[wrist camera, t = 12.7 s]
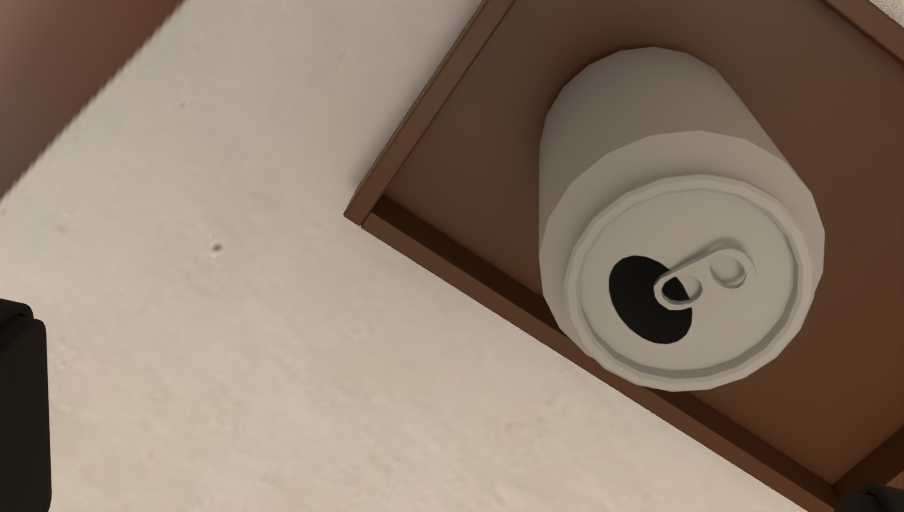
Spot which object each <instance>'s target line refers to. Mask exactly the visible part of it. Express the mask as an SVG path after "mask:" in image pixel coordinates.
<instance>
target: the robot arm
mask: <svg viewBox="0 0 904 512" xmlns="http://www.w3.org/2000/svg"><path fill="white" fill-rule="evenodd" d="M51 496H52V487H51V458H50V429H49V401H48V372H47V343H46V328H45V325H44V323H43V322H42V321H41V320H38V319H34V317H33V312H32V310H31V308H30V306H28V305H26V304H24V303H19V302H14V301H10V300H5V299H0V512H48V511H49V508H50V503H51ZM834 512H904V489H900V488H895V487H891V486H886V485H881V484H877V483H872V482H871V483H865V484H863V485H862V486H860V487H859V489H858V490H857V491H856V492H853V491H850V492H846V493H845V494H844V495H843V496H842V497H841V499H840V500H839V502H838V504H837V506H836V508H835V510H834Z"/></svg>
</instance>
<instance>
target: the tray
mask: <svg viewBox="0 0 904 512" xmlns="http://www.w3.org/2000/svg"><path fill="white" fill-rule="evenodd" d="M648 47H659V48H664V49H669V50H674V51H679V52H684V53H688V54H690V55H692V56H693V57H695V58H697V59H699V60H700V61H702V62H704V63H706V64H707V65H709V66H711V67H713V68H714V69H716V70H717V71H718V73H719V74H720V75H721V76H722V77H723V78H724V80H725V81H726V82H727V83H728V84H729V86H730V87H731V88H732V89H733V90H734V91H735V93H736V94H737V95H738V96H739V98H740V99H741V100H742V102H743V103H744V104H745V106H746V107H747V108H748V110H749V111H750V112H751V114H752V115H753V116H754V118H755V119H756V120H757V122H758V123H759V124H760V126H761V127H762V128H763V130H764V131H765V132H766V134H767V135H768V136H769V138H770V139H771V140H772V142H773V143H774V144H775V146H776V147H777V148H778V149H779V151H780V152H781V153H782V155H783V156H784V157H785V159H786V160H787V161H788V163H789V164H790V165H791V167H792V168H793V169H794V171H795V172H796V173H797V175H798V176H799V177H800V179H801V180H802V181H803V183H804V184H805V185H806V187H807V188H808V189H809V191H810V192H811V193H812V196H813V199H814V202H815V204H816V207H817V210H818V213H819V216H820V219H821V222H822V225H823V228H824V231H825V240H824V261H823V273H822V276H821V278H820V280H819V283H818V285H817V288H816V290H815V292H814V298H813V301H812V303H811V306H810V308H809V310H808V313H807V315H806V318H805V320H804V322H803V325H802V327H801V329H800V331H799V332H798V333H797V334H796V335H795V336H794V338H793V339H792V340H791V341H790V342H789V343H788V345H787V346H786V347H785V348H784V349H783V350H782V351H781V353H780V354H779V355H778V356H777V357H776V358H775V359H773V360H772V361H770V362H768V363H767V364H765V365H764V366H762V367H761V368H759V369H758V370H756V371H755V372H753V373H751V374H750V375H748V376H747V377H745V378H743V379H739V380H736V381H733V382H730V383H727V384H724V385H721V386H718V387H715V388H712V389H708V390H692V391H676V392H670V391H665V390H660V389H655V388H650V387H645V386H640V385H635V384H634V383H632V382H630V381H628V380H626V379H624V378H622V377H620V376H618V375H616V374H614V373H612V372H610V371H608V370H606V369H604V368H603V367H602V366H601V365H600V364H599V363H598V362H597V361H596V360H595V359H594V358H592V357H590V356H588V355H587V354H585V353H584V352H583V351H582V350H581V349H580V348H579V347H578V346H577V345H576V344H575V343H574V342H573V341H572V340H571V339H570V338H569V337H568V336H567V335H566V334H565V333H564V332H563V331H562V330H561V329H560V328H559V326H558V324H557V322H556V320H555V318H554V316H553V314H552V312H551V310H550V308H549V306H548V304H547V302H546V300H545V297H544V295H543V289H542V280H541V271H540V262H539V156H540V141H541V137H542V132H543V128H544V124H545V119H546V115H547V113H548V112H549V110H550V108H551V107H552V105H553V103H554V102H555V100H556V98H557V97H558V95H559V93H560V92H561V90H562V88H563V87H564V86H565V85H566V84H567V83H569V82H570V81H571V80H572V79H573V78H574V77H575V76H577V75H578V74H579V73H580V72H581V71H582V70H583V69H585V68H586V67H587V66H588V65H590V64H592V63H594V62H596V61H598V60H601V59H603V58H605V57H607V56H610V55H612V54H614V53H616V52H619V51H623V50H631V49H639V48H648ZM344 217H346V218H347V219H349V220H351V221H352V222H354V223H355V224H357V225H359V226H360V225H361V228H362V229H364V230H366V231H367V232H369V233H370V234H372V235H373V236H375V237H377V238H378V239H380V240H381V241H383V242H385V243H386V244H388V245H389V246H391V247H392V248H394V249H396V250H397V251H399V252H400V253H402V254H403V255H405V256H407V257H408V258H410V259H411V260H413V261H414V262H416V263H418V264H419V265H421V266H422V267H424V268H425V269H427V270H429V271H430V272H432V273H433V274H435V275H436V276H438V277H440V278H441V279H443V280H444V281H446V282H447V283H449V284H451V285H452V286H454V287H455V288H457V289H458V290H460V291H462V292H463V293H465V294H466V295H468V296H470V297H471V298H473V299H474V300H476V301H477V302H479V303H481V304H482V305H484V306H485V307H487V308H488V309H490V310H492V311H493V312H495V313H496V314H498V315H499V316H501V317H503V318H504V319H506V320H507V321H509V322H510V323H512V324H514V325H515V326H517V327H518V328H520V329H521V330H523V331H525V332H526V333H528V334H529V335H531V336H532V337H534V338H536V339H537V340H539V341H540V342H542V343H544V344H545V345H547V346H548V347H550V348H551V349H553V350H555V351H556V352H558V353H559V354H561V355H562V356H564V357H566V358H567V359H569V360H570V361H572V362H573V363H575V364H577V365H578V366H580V367H581V368H583V369H584V370H586V371H588V372H589V373H591V374H592V375H594V376H595V377H597V378H599V379H600V380H602V381H603V382H605V383H606V384H608V385H610V386H611V387H613V388H614V389H616V390H618V391H619V392H621V393H622V394H624V395H625V396H627V397H629V398H630V399H632V400H633V401H635V402H636V403H638V404H640V405H641V406H643V407H644V408H646V409H647V410H649V411H651V412H652V413H654V414H655V415H657V416H658V417H660V418H662V419H663V420H665V421H666V422H668V423H669V424H671V425H673V426H674V427H676V428H677V429H679V430H680V431H682V432H684V433H685V434H687V435H688V436H690V437H691V438H693V439H695V440H696V441H698V442H699V443H701V444H703V445H704V446H706V447H707V448H709V449H710V450H712V451H714V452H715V453H717V454H718V455H720V456H721V457H723V458H725V459H726V460H728V461H729V462H731V463H732V464H734V465H736V466H737V467H739V468H740V469H742V470H743V471H745V472H747V473H748V474H750V475H751V476H753V477H754V478H756V479H758V480H759V481H761V482H762V483H764V484H765V485H767V486H769V487H770V488H772V489H773V490H775V491H777V492H778V493H780V494H781V495H783V496H784V497H786V498H788V499H789V500H791V501H792V502H794V503H795V504H797V505H799V506H800V507H802V508H803V509H805V510H806V511H808V512H834V510H835V508H836V506H837V504H838V502H839V500H840V499H841V497H842V496H843V495H844V494H845V493H846V492H850V491H853V492H856V491H857V490H858V489H859V487H860V486H862V485H863V484H865V483H871V482H872V483H877V484H881V485H886V486H891V487H895V488H900V489H904V28H903V27H902V26H901V25H899V24H898V23H897V22H896V21H894V20H893V19H892V18H891V17H889V16H888V15H887V14H885V13H884V12H883V11H882V10H880V9H879V8H878V7H877V6H875V5H874V4H873V3H871V2H870V1H869V0H483V1H482V2H481V4H480V5H479V7H478V8H477V10H476V11H475V13H474V14H473V16H472V17H471V19H470V20H469V22H468V23H467V25H466V26H465V28H464V29H463V31H462V32H461V34H460V35H459V37H458V38H457V40H456V41H455V43H454V44H453V46H452V47H451V49H450V50H449V52H448V53H447V55H446V56H445V58H444V59H443V61H442V62H441V64H440V65H439V67H438V68H437V70H436V71H435V73H434V74H433V76H432V77H431V79H430V80H429V82H428V83H427V85H426V86H425V88H424V89H423V91H422V92H421V94H420V95H419V97H418V98H417V99H416V101H415V102H414V104H413V105H412V107H411V108H410V110H409V111H408V113H407V114H406V116H405V117H404V119H403V120H402V122H401V123H400V125H399V126H398V128H397V129H396V131H395V132H394V134H393V135H392V137H391V138H390V140H389V141H388V143H387V144H386V146H385V147H384V149H383V150H382V152H381V153H380V155H379V156H378V158H377V159H376V161H375V162H374V164H373V165H372V167H371V168H370V170H369V171H368V173H367V174H366V176H365V177H364V179H363V180H362V182H361V183H360V185H359V186H358V188H357V189H356V191H355V193H354V195H353V197H352V199H351V200H350V202H349V204H348V206H347V208H346V210H345V212H344Z"/></svg>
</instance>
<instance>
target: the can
mask: <svg viewBox="0 0 904 512" xmlns="http://www.w3.org/2000/svg"><path fill="white" fill-rule="evenodd" d="M824 240H825V231H824V228H823V225H822V222H821V219H820V216H819V213H818V210H817V207H816V204H815V202H814V199H813V196H812V193H811V192H810V191H809V189H808V188H807V187H806V185H805V184H804V183H803V181H802V180H801V179H800V177H799V176H798V175H797V173H796V172H795V171H794V169H793V168H792V167H791V165H790V164H789V163H788V161H787V160H786V159H785V157H784V156H783V155H782V153H781V152H780V151H779V149H778V148H777V147H776V146H775V144H774V143H773V142H772V140H771V139H770V138H769V136H768V135H767V134H766V132H765V131H764V130H763V128H762V127H761V126H760V124H759V123H758V122H757V120H756V119H755V118H754V116H753V115H752V114H751V112H750V111H749V110H748V108H747V107H746V106H745V104H744V103H743V102H742V100H741V99H740V98H739V96H738V95H737V94H736V93H735V91H734V90H733V89H732V88H731V87H730V86H729V84H728V83H727V82H726V81H725V80H724V78H723V77H722V76H721V75H720V74H719V73H718V71H717V70H716V69H714V68H713V67H711V66H709V65H707V64H706V63H704V62H702V61H700V60H699V59H697V58H695V57H693V56H692V55H690V54H688V53H684V52H679V51H674V50H669V49H664V48H659V47H648V48H639V49H631V50H623V51H619V52H616V53H614V54H612V55H610V56H607V57H605V58H603V59H601V60H598V61H596V62H594V63H592V64H590V65H588V66H587V67H586V68H585V69H583V70H582V71H581V72H580V73H579V74H578V75H577V76H575V77H574V78H573V79H572V80H571V81H570V82H569V83H567V84H566V85H565V86H564V87H563V88H562V90H561V92H560V93H559V95H558V97H557V98H556V100H555V102H554V103H553V105H552V107H551V108H550V110H549V112H548V113H547V115H546V119H545V124H544V128H543V132H542V137H541V141H540V156H539V262H540V271H541V280H542V289H543V295H544V297H545V300H546V302H547V304H548V306H549V308H550V310H551V312H552V314H553V316H554V318H555V320H556V322H557V324H558V326H559V328H560V329H561V330H562V331H563V332H564V333H565V334H566V335H567V336H568V337H569V338H570V339H571V340H572V341H573V342H574V343H575V344H576V345H577V346H578V347H579V348H580V349H581V350H582V351H583V352H584V353H585V354H587V355H588V356H590V357H592V358H594V359H595V360H596V361H597V362H598V363H599V364H600V365H601V366H602V367H603V368H604V369H606V370H608V371H610V372H612V373H614V374H616V375H618V376H620V377H622V378H624V379H626V380H628V381H630V382H632V383H634V384H635V385H640V386H645V387H650V388H655V389H660V390H665V391H670V392H676V391H692V390H708V389H712V388H715V387H718V386H721V385H724V384H727V383H730V382H733V381H736V380H739V379H743V378H745V377H747V376H748V375H750V374H751V373H753V372H755V371H756V370H758V369H759V368H761V367H762V366H764V365H765V364H767V363H768V362H770V361H772V360H773V359H775V358H776V357H777V356H778V355H779V354H780V353H781V351H782V350H783V349H784V348H785V347H786V346H787V345H788V343H789V342H790V341H791V340H792V339H793V338H794V336H795V335H796V334H797V333H798V332H799V331H800V329H801V327H802V325H803V322H804V320H805V318H806V315H807V313H808V310H809V308H810V306H811V303H812V301H813V298H814V292H815V290H816V288H817V285H818V283H819V280H820V278H821V276H822V273H823V261H824Z"/></svg>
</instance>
